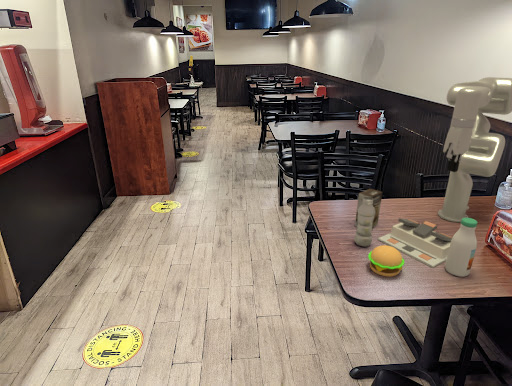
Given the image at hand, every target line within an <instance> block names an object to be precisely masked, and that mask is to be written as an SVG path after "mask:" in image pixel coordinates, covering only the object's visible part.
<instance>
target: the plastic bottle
mask: <svg viewBox="0 0 512 386" xmlns="http://www.w3.org/2000/svg"><path fill="white" fill-rule="evenodd" d="M362 203H363V204H362V205H361V206H360V207H359V208H358V226H357V227H356V232H355V235H354V242H355V243H356V245H358V246H361V247H369V246H370V245H371V244H372V241H373V235H372V232H373V228H372V224H373V220H374V216H375V209H374V207H373V205H372V204H373V198H371V197H364V198H363V202H362Z"/></svg>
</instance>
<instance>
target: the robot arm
mask: <svg viewBox="0 0 512 386" xmlns="http://www.w3.org/2000/svg"><path fill="white" fill-rule="evenodd" d="M446 102H447V103H448V105H449V106H453V107H454V108H453V112H452V118H451V121H450V127H449V129H448V132H447V135H446V138H445V142H444V145H443V150H442V151H443V153H444V154H446V155H445V156H446V159H447V158H448V165H447V168H446V169H447V171H448V172H450V173H449V177H448V183H447V187H446V190H445V196H444V200H443V205H442V209H439V210H437V215H438V216H439V218H441V219H443V220H444V221H448V222H451V223H453V222H454V223H461V220H462V218H469V216H468V214H466V213H467V211H468V210H469V209H470V207H469V201H470V196H471V193H472V189H473V186H474V184H473V178H472V176H471V175H475V176H480V177H487V178H490V177H492V176H494V175H495V174H496V172H497V169H498V167H499V163H500V160H501V158H502V155H503V151H504V150H505V147H506V139H505V136H504V135H502V134H500V133H495V132H490V129H491V123H490V121H489V119H488V118H487V117H486V116H485V114H492V115H502V116H503V115H504V116H505V115H509V114H511V113H512V78H511V77H493V76H490V77H487V76H486V77H483V78H481V79H478V80H473V81H466V82H459V83H458V82H457V83H456V84H453V85H452V86H451V87H450V88H449V90H448V91H447V94H446Z"/></svg>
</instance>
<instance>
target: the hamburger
mask: <svg viewBox="0 0 512 386" xmlns="http://www.w3.org/2000/svg"><path fill="white" fill-rule="evenodd" d="M367 258H368V260H369V261H370V263H369V267H370V269H371V270H372V272H374V273H375V274H377V275H379V276H382V277H387V278H389V277H390V278H391V277H395V276H397V275H398V274H399V273H400V272H401V271H402V270H403V268H404V265H405V259H404V258H403V255H402V252H400V251H398V250H397V249H395V248H394V247H391V246H389V245H387V244H384V245H383V244H382V245H379V246H375V247H374V248H373V249H372V250H371V251H370V252H369V253H368V256H367Z"/></svg>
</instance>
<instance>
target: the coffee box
mask: <svg viewBox="0 0 512 386" xmlns="http://www.w3.org/2000/svg"><path fill="white" fill-rule="evenodd" d="M382 196H383V191H381V190H377V189H373V188H368V189H365V190H363V191H360V192H359V193H358V199H357V205H356V213H355V220H354V221H355V222H354V227H355V228H357V226H358V208H359V207H360V206H361V205H362V204H363V203H362V202H363V198H364V197H371V198H373V204H372V205H373V207H374V209H375V216H374V220H373V224H372V229H373V228H375V227H376V226H378V225H379V217H380V212H381V211H380V210H381V205H382V198H383V197H382Z"/></svg>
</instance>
